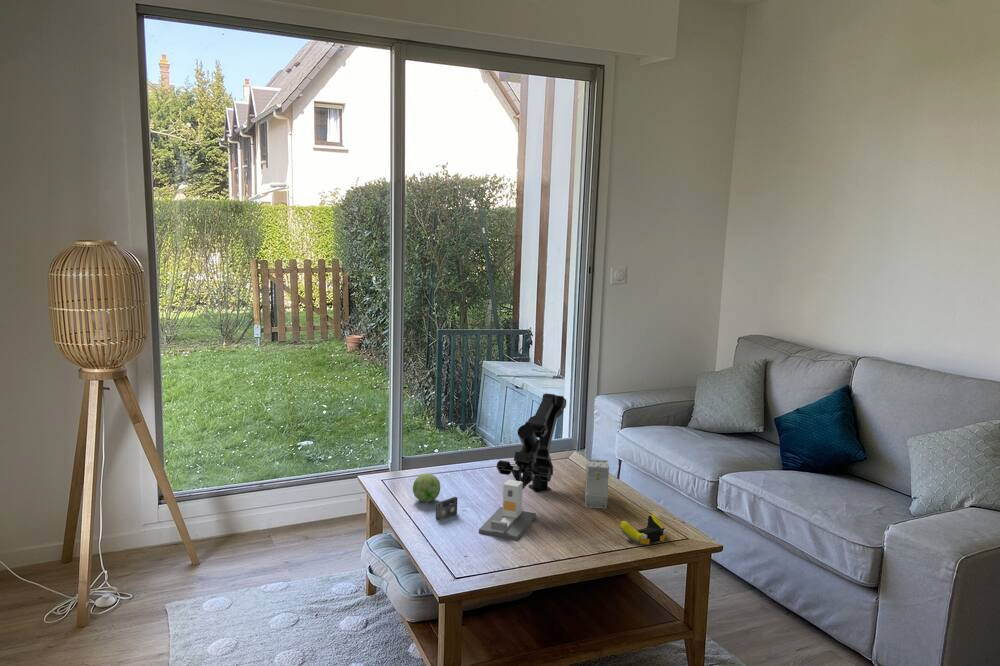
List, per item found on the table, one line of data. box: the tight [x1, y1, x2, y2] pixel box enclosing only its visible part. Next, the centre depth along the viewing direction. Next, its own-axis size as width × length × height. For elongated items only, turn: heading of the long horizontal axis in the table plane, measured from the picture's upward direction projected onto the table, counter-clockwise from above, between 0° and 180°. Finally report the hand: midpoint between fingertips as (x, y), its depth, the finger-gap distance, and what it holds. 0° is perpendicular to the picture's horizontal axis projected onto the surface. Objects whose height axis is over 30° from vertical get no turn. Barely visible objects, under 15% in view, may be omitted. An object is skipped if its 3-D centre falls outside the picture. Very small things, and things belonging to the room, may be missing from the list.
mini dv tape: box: [435, 496, 458, 521], centre depth 243 cm, size 8×2×6 cm, turn 135°
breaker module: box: [502, 479, 523, 520], centre depth 240 cm, size 6×5×12 cm
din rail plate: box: [478, 506, 537, 541], centre depth 238 cm, size 20×13×4 cm, turn 160°
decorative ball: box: [412, 473, 441, 503], centre depth 255 cm, size 10×10×10 cm
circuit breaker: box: [584, 458, 610, 509], centre depth 261 cm, size 8×14×15 cm, turn 174°
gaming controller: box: [619, 514, 668, 545], centre depth 232 cm, size 15×6×10 cm
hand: (517, 493), depth 246 cm, fingers closed
